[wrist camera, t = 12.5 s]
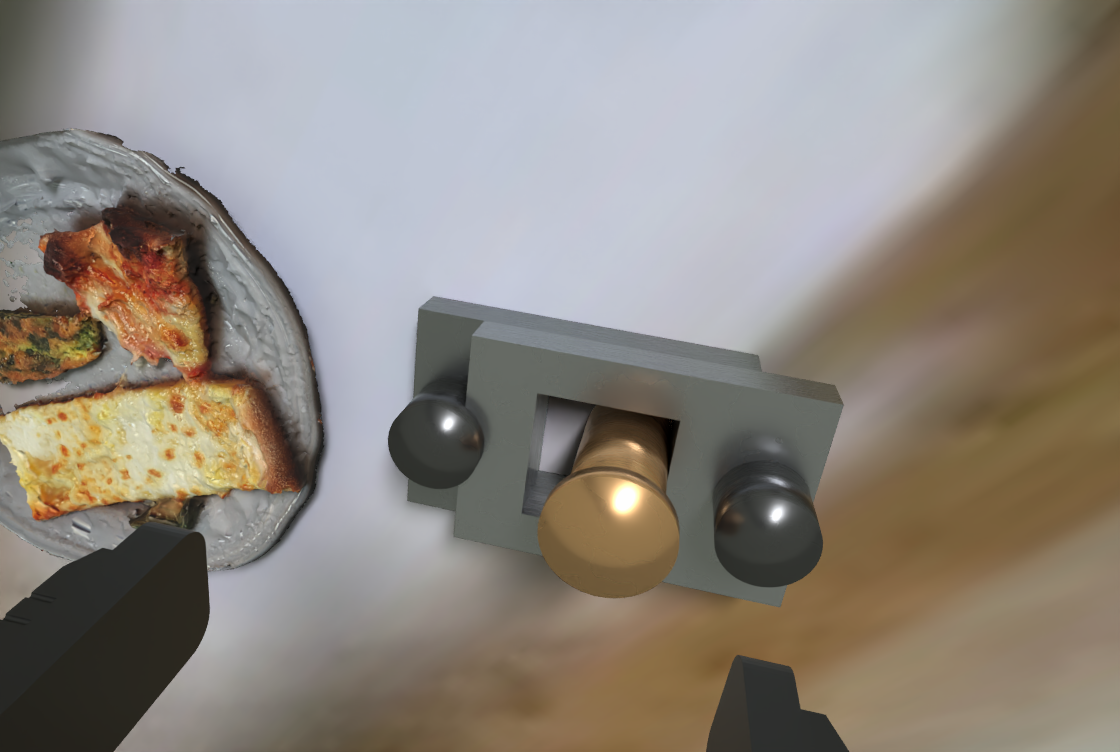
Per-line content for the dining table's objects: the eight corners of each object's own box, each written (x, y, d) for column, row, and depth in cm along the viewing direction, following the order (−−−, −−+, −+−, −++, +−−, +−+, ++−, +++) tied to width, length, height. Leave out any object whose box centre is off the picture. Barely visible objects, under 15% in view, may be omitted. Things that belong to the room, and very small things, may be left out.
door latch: (420, 480, 38) (365, 561, 32) (433, 296, 34) (373, 346, 28) (771, 554, 36) (787, 655, 30) (827, 367, 32) (859, 439, 26)
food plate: (260, 94, 32) (210, 97, 29) (388, 545, 40) (360, 586, 37) (-163, 172, 38) (-244, 182, 35) (24, 551, 46) (-27, 587, 43)
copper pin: (567, 467, 37) (529, 581, 28) (582, 371, 34) (546, 463, 26) (672, 489, 36) (664, 611, 28) (693, 392, 34) (692, 493, 26)
